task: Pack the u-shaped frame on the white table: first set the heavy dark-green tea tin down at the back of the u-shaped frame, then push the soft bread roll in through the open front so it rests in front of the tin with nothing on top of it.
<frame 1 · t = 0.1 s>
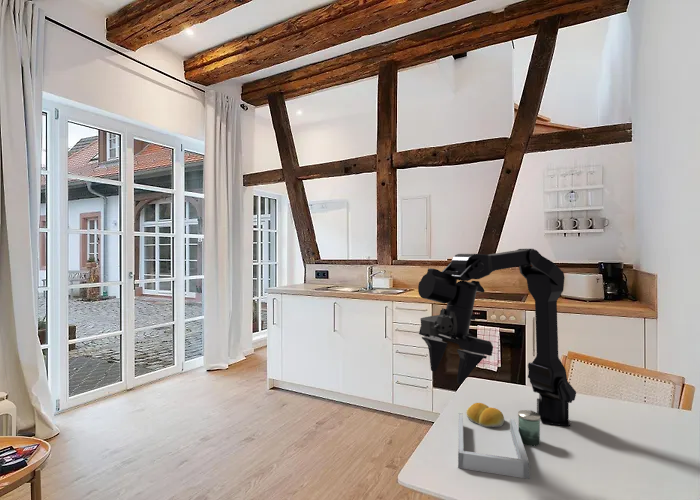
hand: (445, 377, 85), 15 cm above the table, tool pointing down, fingers open, 9 cm apart
u-shaped frame: (489, 448, 84), on the table
bread roll: (484, 421, 98), on the table
tea tin: (529, 441, 87), on the table
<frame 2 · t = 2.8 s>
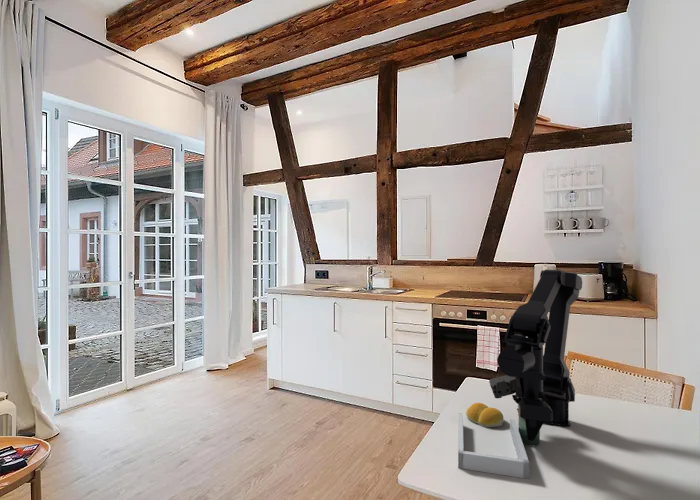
hand: (529, 435, 87), 1 cm above the table, tool pointing down, fingers closed on tea tin, 4 cm apart
tea tin: (529, 441, 87), on the table, touching gripper
everything else where it was.
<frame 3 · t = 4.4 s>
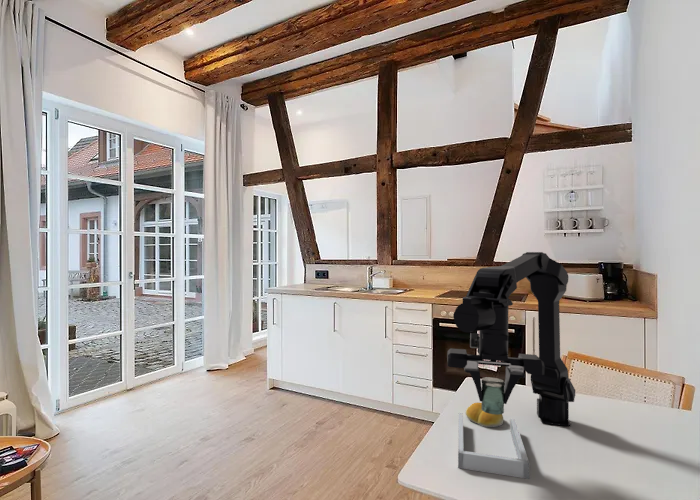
hand: (492, 402, 80), 12 cm above the table, tool pointing down, fingers closed on tea tin, 4 cm apart
tea tin: (492, 410, 80), point 10 cm above the table, touching gripper
everything else where it was.
when the fingers open (3 cm above the table, at t = 6.2 s): tea tin drops 2 cm, resting in u-shaped frame.
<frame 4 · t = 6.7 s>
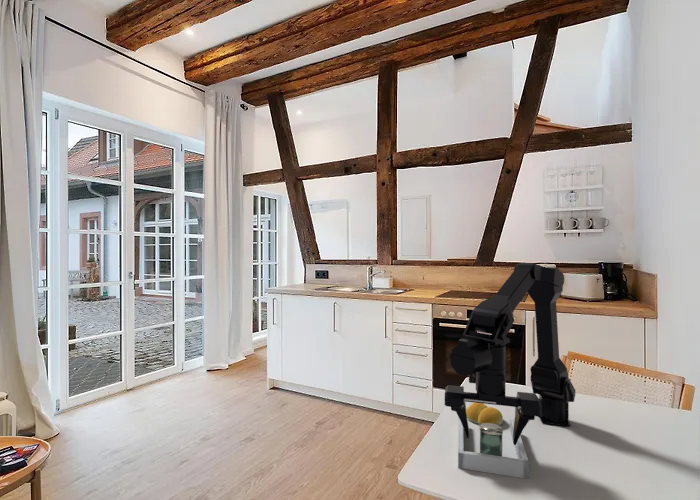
hand: (490, 440, 80), 3 cm above the table, tool pointing down, fingers open, 9 cm apart
tea tin: (491, 457, 80), resting in u-shaped frame
everything else where it was.
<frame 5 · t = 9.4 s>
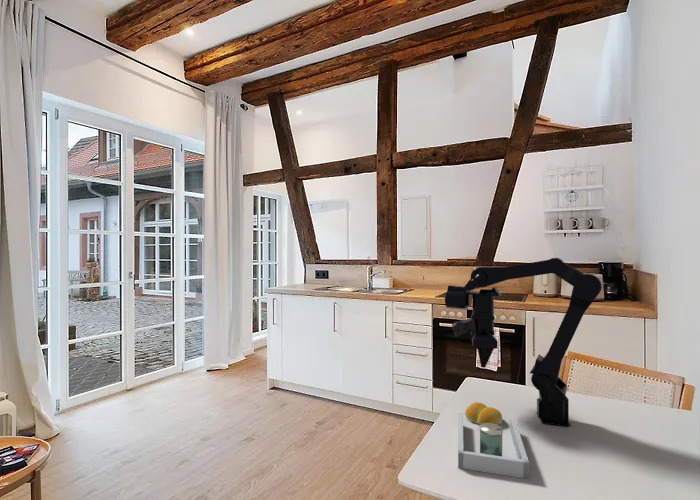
hand: (482, 366, 108), 11 cm above the table, tool pointing down, fingers closed
nothing on the table moved.
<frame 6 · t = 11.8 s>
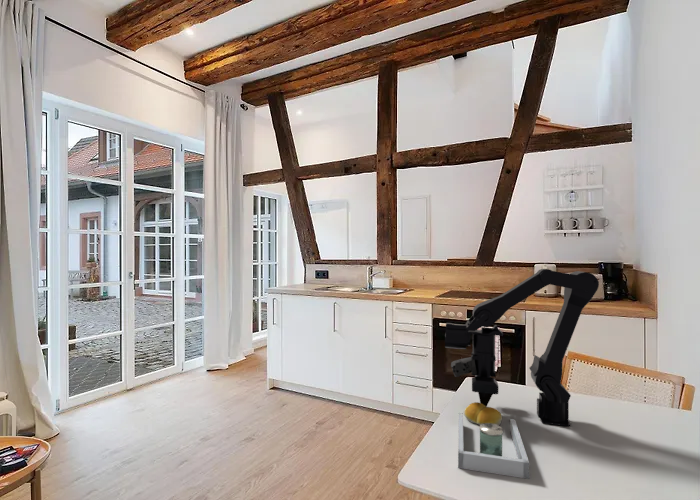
hand: (483, 408, 103), 1 cm above the table, tool pointing down, fingers closed
bread roll: (482, 421, 98), on the table, touching gripper
everything else where it was.
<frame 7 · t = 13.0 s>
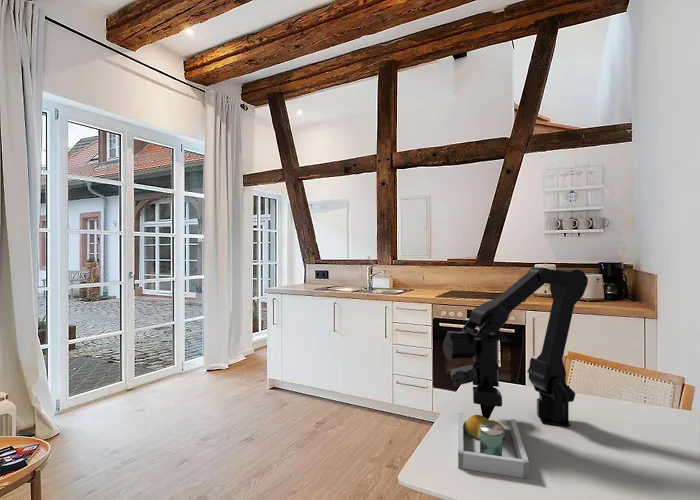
hand: (485, 420, 96), 1 cm above the table, tool pointing down, fingers closed
bread roll: (483, 435, 91), on the table
everything else where it was.
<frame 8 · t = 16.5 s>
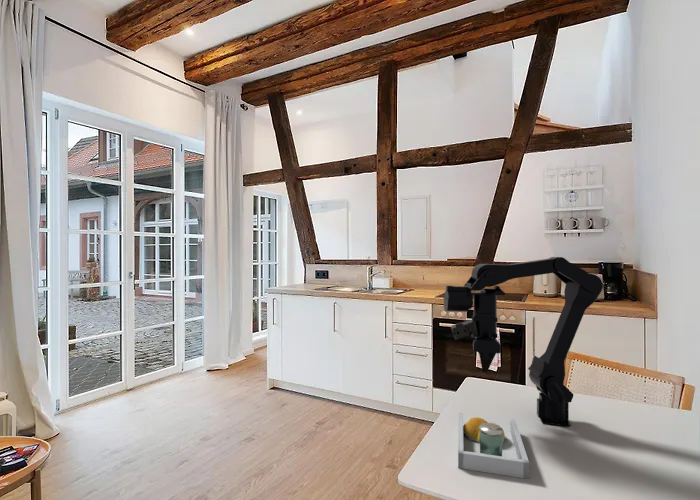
hand: (484, 372, 100), 12 cm above the table, tool pointing down, fingers closed
bread roll: (483, 438, 89), on the table
everything else where it was.
at the end: bread roll inside the target area (2.2 cm from its centre), on the table; tea tin inside the target area (0.2 cm from its centre), resting in u-shaped frame; tea tin tilted 0° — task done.
